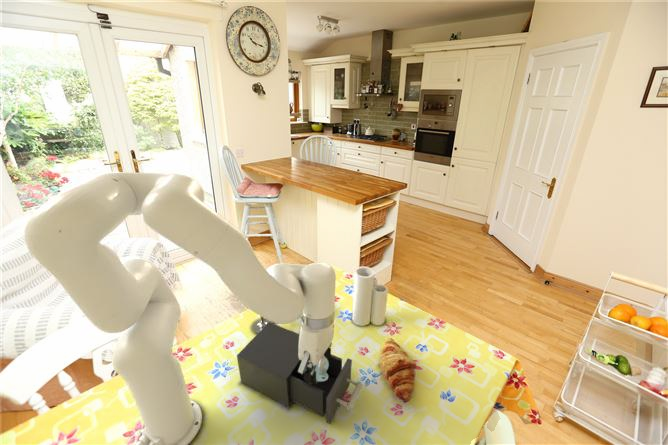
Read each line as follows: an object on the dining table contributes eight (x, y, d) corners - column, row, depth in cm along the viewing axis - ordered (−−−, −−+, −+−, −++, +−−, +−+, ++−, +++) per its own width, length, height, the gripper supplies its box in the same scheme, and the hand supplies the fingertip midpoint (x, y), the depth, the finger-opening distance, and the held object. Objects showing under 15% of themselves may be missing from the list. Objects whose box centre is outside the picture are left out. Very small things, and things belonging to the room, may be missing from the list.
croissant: (379, 351, 95) (369, 334, 92) (407, 339, 93) (398, 322, 90) (394, 416, 75) (382, 398, 72) (431, 402, 74) (420, 383, 71)
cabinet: (314, 366, 85) (314, 340, 81) (288, 408, 74) (286, 379, 70) (271, 347, 91) (268, 321, 87) (241, 383, 80) (236, 355, 76)
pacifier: (303, 387, 70) (328, 387, 70) (302, 369, 68) (328, 369, 68) (306, 362, 77) (328, 362, 77) (305, 344, 75) (328, 344, 75)
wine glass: (246, 330, 98) (240, 294, 92) (261, 315, 104) (257, 280, 98) (265, 338, 95) (261, 301, 89) (279, 322, 101) (276, 287, 95)
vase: (353, 326, 100) (356, 278, 92) (350, 312, 107) (353, 265, 98) (385, 324, 101) (391, 276, 93) (381, 310, 108) (385, 264, 99)
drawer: (365, 389, 78) (367, 366, 74) (347, 433, 68) (348, 409, 64) (305, 362, 85) (304, 340, 82) (280, 398, 75) (278, 375, 72)
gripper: (321, 289, 75) (320, 340, 82) (282, 334, 61) (285, 391, 68) (348, 297, 72) (345, 350, 79) (313, 347, 58) (313, 405, 65)
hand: (317, 368), depth 73 cm, fingers closed on pacifier, 7 cm apart
